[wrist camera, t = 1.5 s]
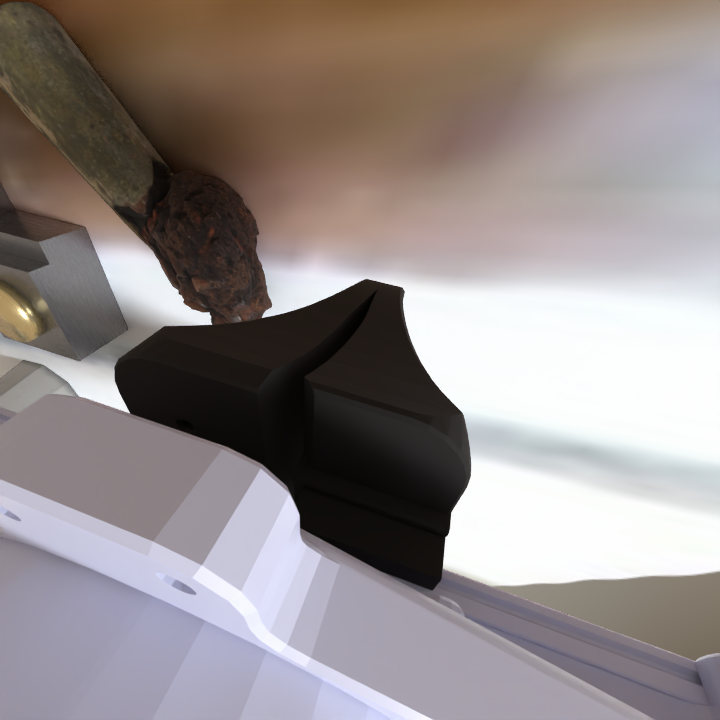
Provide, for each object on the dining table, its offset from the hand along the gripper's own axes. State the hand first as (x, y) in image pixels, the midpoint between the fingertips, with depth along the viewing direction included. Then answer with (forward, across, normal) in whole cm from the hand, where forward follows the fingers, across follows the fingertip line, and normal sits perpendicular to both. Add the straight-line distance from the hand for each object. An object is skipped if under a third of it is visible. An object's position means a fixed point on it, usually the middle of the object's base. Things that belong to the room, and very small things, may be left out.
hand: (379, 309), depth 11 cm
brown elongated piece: (+10, +15, +1) cm, 18 cm away
